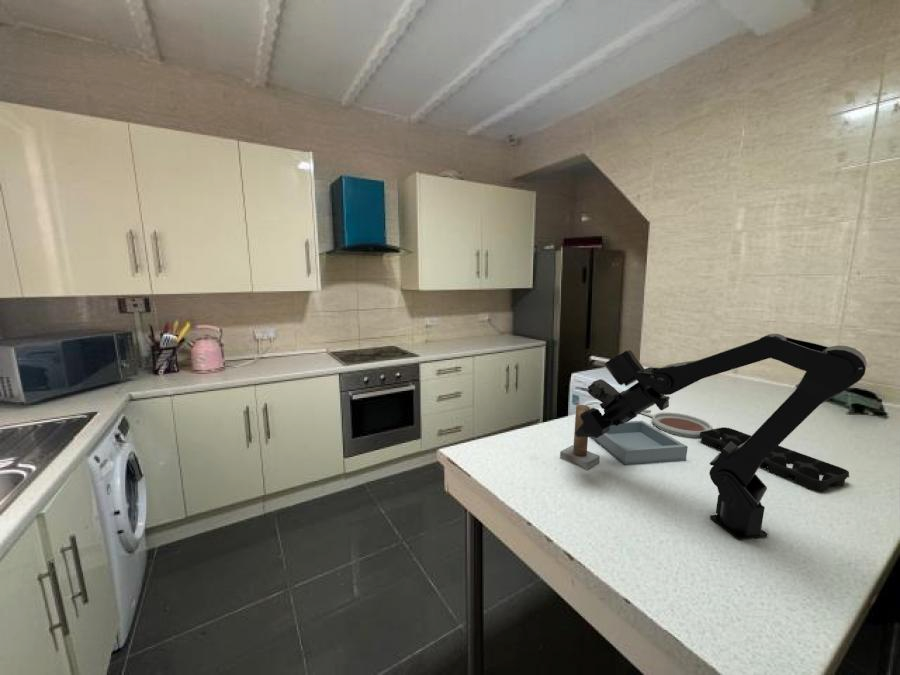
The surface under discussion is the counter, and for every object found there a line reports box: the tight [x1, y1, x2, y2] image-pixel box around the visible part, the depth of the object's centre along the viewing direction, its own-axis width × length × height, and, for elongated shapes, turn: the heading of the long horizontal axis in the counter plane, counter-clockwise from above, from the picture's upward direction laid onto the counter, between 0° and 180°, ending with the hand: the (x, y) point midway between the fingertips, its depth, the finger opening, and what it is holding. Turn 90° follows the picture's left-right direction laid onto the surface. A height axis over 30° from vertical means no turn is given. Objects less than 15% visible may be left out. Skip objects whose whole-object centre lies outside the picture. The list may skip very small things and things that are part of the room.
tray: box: [590, 420, 688, 466], centre depth 103 cm, size 18×18×4 cm
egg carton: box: [699, 427, 850, 493], centre depth 96 cm, size 18×30×4 cm, turn 32°
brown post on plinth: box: [559, 404, 601, 471], centre depth 94 cm, size 8×6×15 cm
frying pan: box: [640, 409, 714, 439], centre depth 122 cm, size 17×3×28 cm
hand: (585, 430), depth 93 cm, fingers open, 9 cm apart
